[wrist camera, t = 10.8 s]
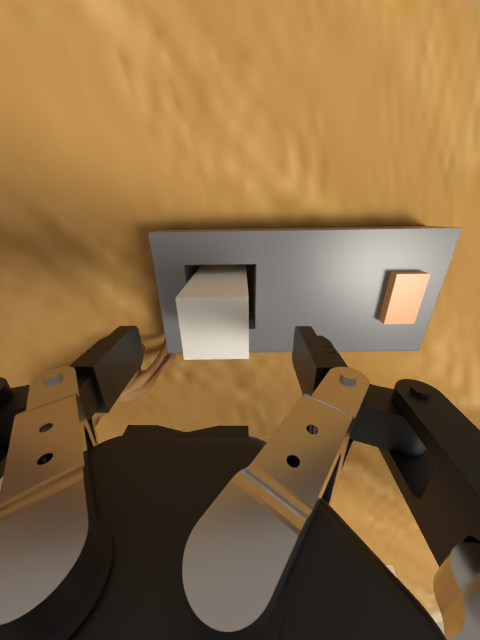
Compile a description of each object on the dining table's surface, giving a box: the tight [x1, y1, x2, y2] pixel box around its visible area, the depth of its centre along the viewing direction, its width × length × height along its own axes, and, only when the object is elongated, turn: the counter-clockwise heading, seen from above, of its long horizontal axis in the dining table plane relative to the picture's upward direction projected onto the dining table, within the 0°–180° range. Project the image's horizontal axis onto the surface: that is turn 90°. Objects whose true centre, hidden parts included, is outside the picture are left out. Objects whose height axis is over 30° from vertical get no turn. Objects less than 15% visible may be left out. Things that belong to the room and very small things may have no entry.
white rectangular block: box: [175, 264, 249, 360], centre depth 18 cm, size 4×4×9 cm
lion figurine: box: [92, 338, 177, 426], centre depth 21 cm, size 15×5×9 cm, turn 133°
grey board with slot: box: [148, 226, 462, 353], centre depth 20 cm, size 22×10×4 cm, turn 91°
